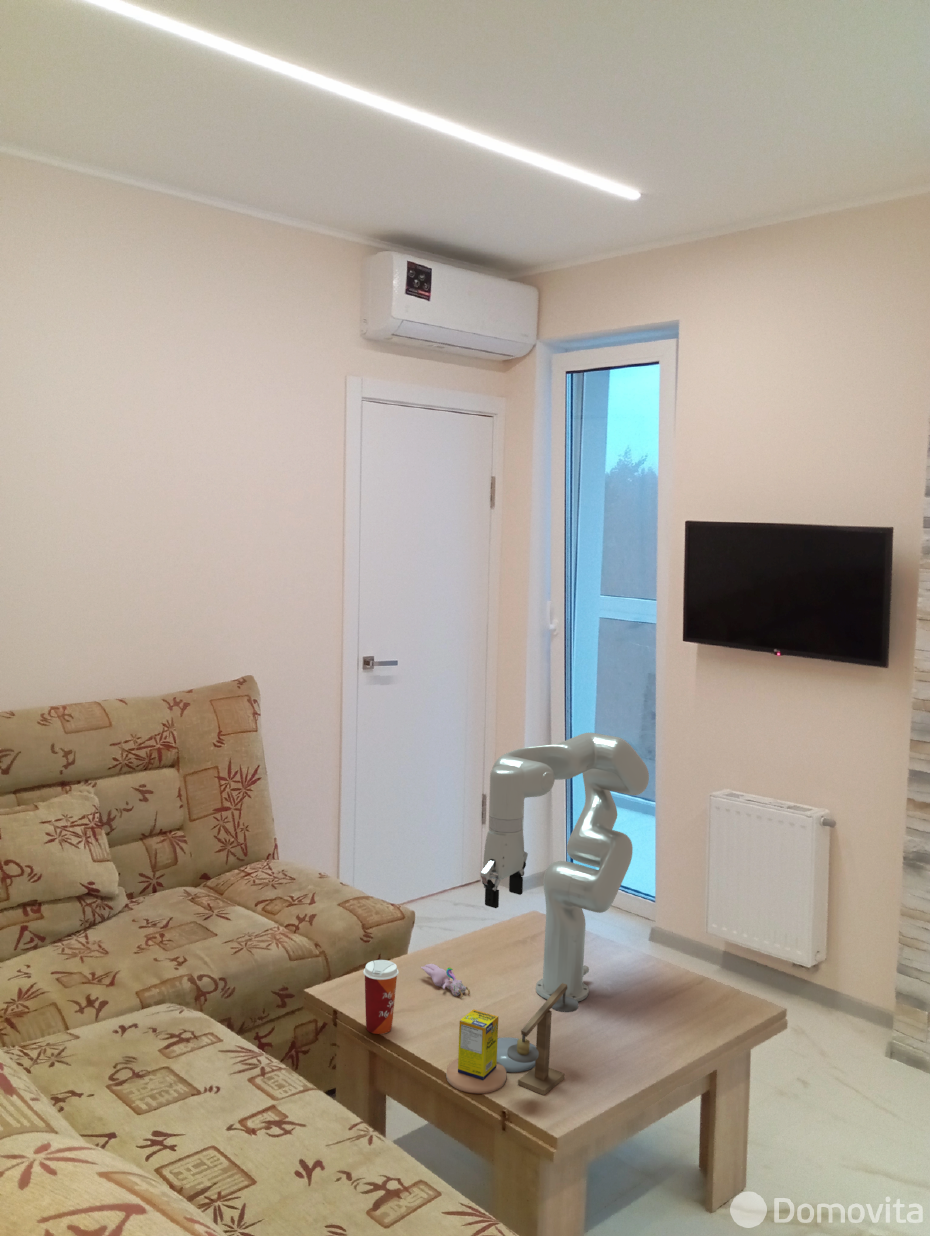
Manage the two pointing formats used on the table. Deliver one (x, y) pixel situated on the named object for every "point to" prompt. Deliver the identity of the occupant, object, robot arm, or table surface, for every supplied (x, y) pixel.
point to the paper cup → (380, 995)
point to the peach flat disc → (476, 1079)
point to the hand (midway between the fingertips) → (503, 899)
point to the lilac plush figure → (445, 979)
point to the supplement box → (478, 1044)
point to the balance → (541, 1044)
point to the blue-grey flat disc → (506, 1061)
